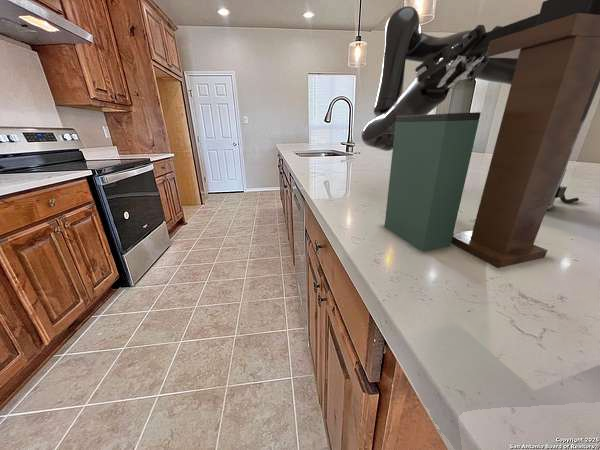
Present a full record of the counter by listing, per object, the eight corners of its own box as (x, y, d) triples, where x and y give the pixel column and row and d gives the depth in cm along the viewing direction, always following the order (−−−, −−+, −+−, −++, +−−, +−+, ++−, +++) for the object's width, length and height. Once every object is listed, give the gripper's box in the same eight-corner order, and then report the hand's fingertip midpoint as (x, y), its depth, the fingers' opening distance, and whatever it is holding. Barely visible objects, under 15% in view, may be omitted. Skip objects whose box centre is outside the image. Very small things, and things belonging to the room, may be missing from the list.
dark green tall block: (407, 223, 55) (423, 115, 47) (450, 246, 45) (481, 112, 36) (384, 226, 54) (396, 116, 45) (422, 251, 43) (447, 113, 35)
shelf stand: (482, 231, 50) (535, 43, 37) (544, 257, 40) (644, 14, 28) (442, 239, 48) (484, 40, 35) (497, 268, 38) (583, 8, 25)
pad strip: (470, 56, 44) (474, 36, 43) (608, 17, 28) (620, -16, 27) (452, 56, 43) (456, 35, 42) (584, 15, 27) (595, -20, 26)
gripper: (387, 84, 54) (450, 5, 37) (440, 84, 57) (520, 11, 40) (394, 116, 53) (462, 49, 36) (447, 114, 56) (532, 52, 40)
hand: (492, 30), depth 39 cm, fingers closed on pad strip, 3 cm apart
